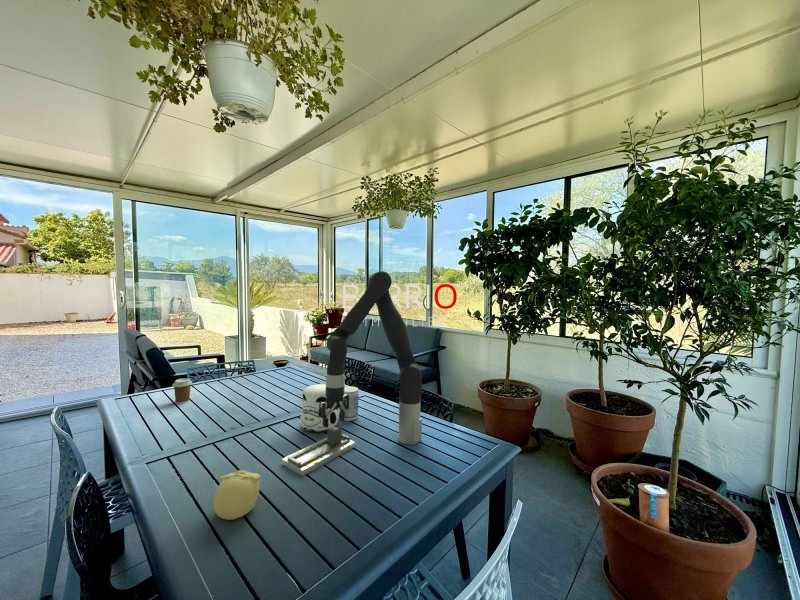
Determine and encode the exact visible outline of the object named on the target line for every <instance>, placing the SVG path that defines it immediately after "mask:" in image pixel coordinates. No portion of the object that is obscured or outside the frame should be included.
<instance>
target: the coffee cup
mask: <svg viewBox="0 0 800 600" xmlns="http://www.w3.org/2000/svg"><path fill="white" fill-rule="evenodd" d="M192 384H193V381H192V380H191V379H190V378H179V379H176V380H175V381H174V383H172V387H173V389H174V391H173V392H174V398H175V399H174V401H175V404H179V405H180V404H185V403H188V402H190V396H191V385H192Z"/></svg>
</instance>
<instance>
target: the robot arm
mask: <svg viewBox="0 0 800 600" xmlns="http://www.w3.org/2000/svg"><path fill="white" fill-rule="evenodd" d="M392 280H393V279H392V277H391V275H390V274H389V273H388V272H386V271H384V270H383V271H381V270H380V271H376V272H374V273H373V274H371V275H370V276H369V277H368V279H367V288H366V290H365V291H364V293H363V294H362V296H361V297H360V298H359V299H358V301H357V302H356V303H355V304H354V305H353V306H352V308H351V309H350V310H349V311H348V312H347V314H346V315H345V317H344V318H343V320H342V321H341V322H340V324H339V325H338V326H337V327H336V328H335V329H334V330H333V332H331V334H329V336H328V338H327V339H326V343H325V344H326V348H327V350H328V351H329V359H328V360H327V363H326V364H327V365H326V376H325V377H326V378H325V384H326V398H327V399H326V402H320V403H319V415H318V416H319V417H321V418H323V426H324V427H326V428H327V427H328V419H329V418H328V417H329V415H330V414H331V413H332V411H333V410H335V409H338V410H339V409H340V410H341V411H340V413H339V412H338V414H339V417H338V421H341V422H344V418H345V411H346V409H349V395H346V394H344V387H346V385H345V382H346V381H345V380H346V378H345V377H346V376H345V364H346V363H345V362H346V358H347V353H348V342H347V340H348V338H349V337H350V336H353V335H354V334H356V332H357V331H358V329H359V328H360V327H361V325H362V323H363V322H364V321H365V319H366V317H367V316H368V314H369V313H370V312H371V310H372V308H373V307H374V306H376V308H377V311H378V315H379V317H380V321H381V325H382V328H383V331H384V334H385V337H386V339H387V342H388V343H389V345H390V347H391V349H392V351H393V352H394V354H395V357H396V361H397V365H398V369H399V394H398V395H399V403H398V405H399V407H398V409H399V410H398V442H400V443H401V444H404V445H407V446H408V445H409V446H410V445H412V446H415V445H417V444H418V443H419V442H421V441H422V433H423V431H422V430H423V427H422V426H423V422H422V421H423V419H422V418H421V400H422V399H421V397H422V389H423V388H422V385H423V382H422V381H423V375H422V372H421V369H420V367H419V364H418V363H417V360H416V358H415V357H414V356H415V355H414V354H413V352H412V349H411V344H410V339H409V335H408V330H407V327H406V325H405V322H404V319H403V317H402V314H400V312H399V310H398V308H397V307H396V306H395V303H394V302H393V300H392V296H391V293H390V289H391V287H392V283H393V282H392ZM342 401H343V403H342ZM328 408H329V409H330V410H328ZM327 412H328V413H327ZM326 413H327V415H326Z"/></svg>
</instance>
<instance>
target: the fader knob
mask: <svg viewBox="0 0 800 600" xmlns="http://www.w3.org/2000/svg"><path fill="white" fill-rule="evenodd" d="M342 431H343V430H342V427H340V426H338V425H336V426H333V427H330V428H328V429H327V431H326V432H327V434H326V436H327V437H326V438H327V443H328V444H330V445H332V446H334V445H336V444H338V443H340V442H341V434H343V433H342Z"/></svg>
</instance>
